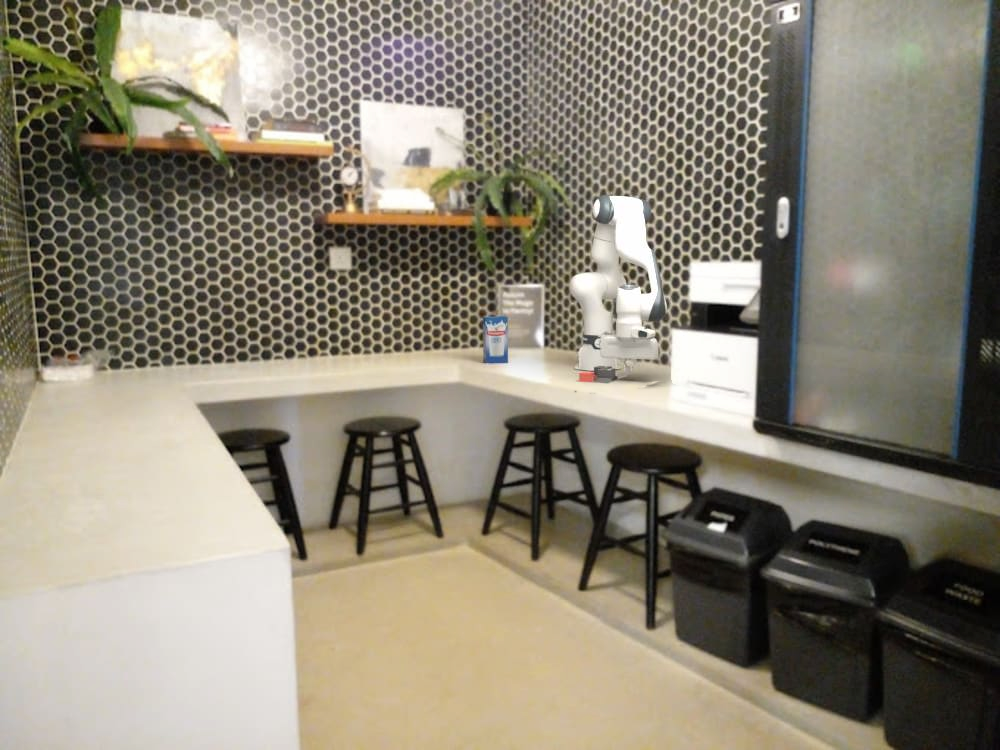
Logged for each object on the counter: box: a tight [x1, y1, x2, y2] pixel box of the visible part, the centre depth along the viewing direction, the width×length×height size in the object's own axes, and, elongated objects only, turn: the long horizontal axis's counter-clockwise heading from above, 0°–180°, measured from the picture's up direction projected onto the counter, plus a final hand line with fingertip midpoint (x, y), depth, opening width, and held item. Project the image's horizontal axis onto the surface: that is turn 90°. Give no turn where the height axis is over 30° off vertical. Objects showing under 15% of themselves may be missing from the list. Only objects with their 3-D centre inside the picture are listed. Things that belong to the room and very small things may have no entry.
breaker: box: [597, 368, 616, 380], centre depth 266 cm, size 5×5×4 cm
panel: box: [576, 366, 629, 384], centre depth 270 cm, size 22×12×5 cm, turn 151°
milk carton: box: [482, 315, 509, 364], centre depth 329 cm, size 10×6×20 cm, turn 101°
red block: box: [578, 371, 594, 383], centre depth 263 cm, size 4×4×3 cm
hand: (628, 371), depth 262 cm, fingers closed
